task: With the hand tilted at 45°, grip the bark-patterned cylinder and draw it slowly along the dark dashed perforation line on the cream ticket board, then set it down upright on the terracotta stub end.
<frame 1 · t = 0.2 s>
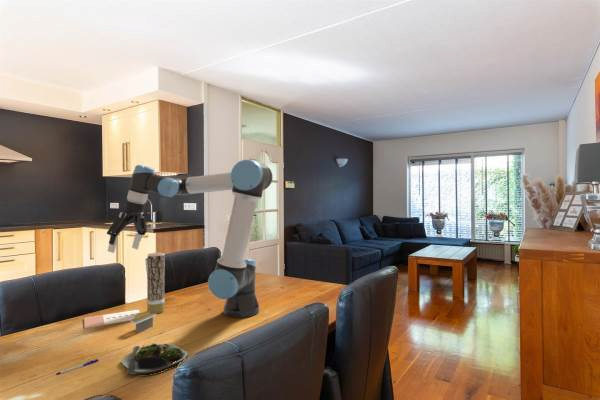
hand: (123, 250, 143), 27 cm above the table, tool tilted 15°, fingers open, 13 cm apart
salad plate: (154, 363, 101), on the table
platform: (142, 331, 126), on the table
ticket board: (113, 318, 137), on the table
ballpoint pen: (78, 369, 97), on the table
bark-patterned cylinder: (155, 312, 146), on the table
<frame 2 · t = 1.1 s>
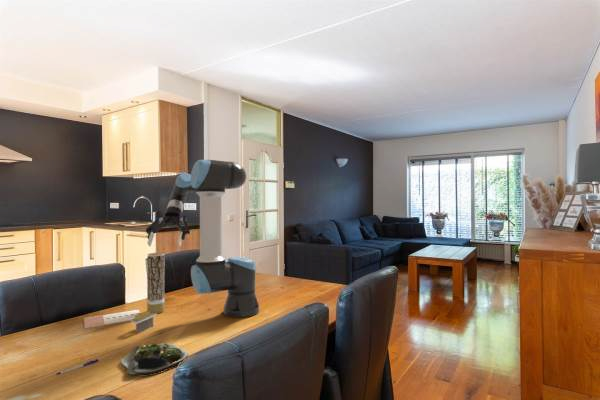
hand: (164, 244, 156), 28 cm above the table, tool tilted 45°, fingers open, 13 cm apart
nothing on the table moved.
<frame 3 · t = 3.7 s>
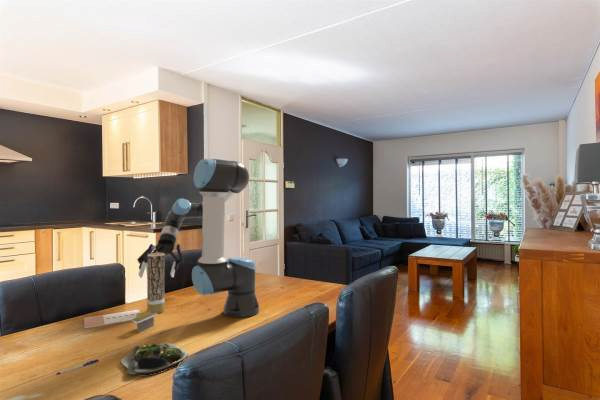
hand: (155, 275, 147), 15 cm above the table, tool tilted 45°, fingers open, 13 cm apart
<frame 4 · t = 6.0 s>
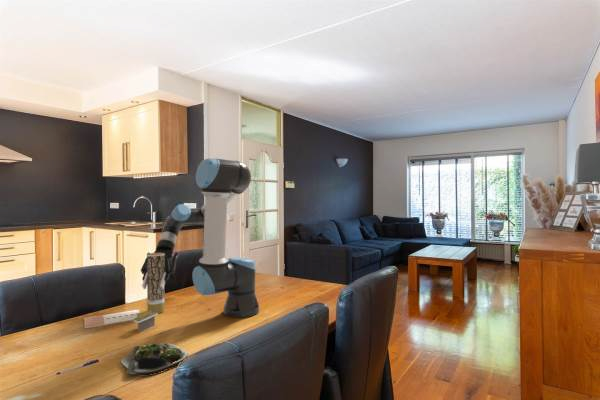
hand: (152, 287, 142), 11 cm above the table, tool tilted 45°, fingers closed on bark-patterned cylinder, 7 cm apart
bark-patterned cylinder: (155, 312, 146), on the table, touching gripper
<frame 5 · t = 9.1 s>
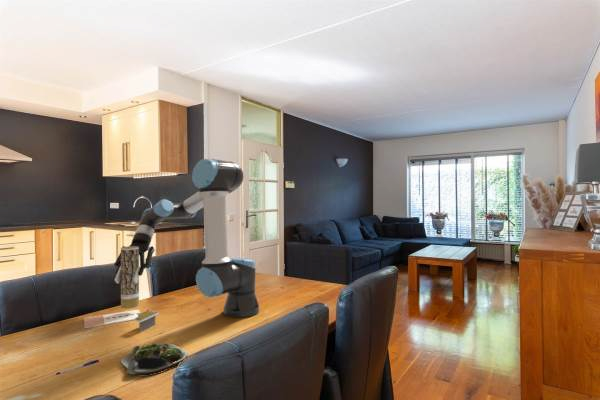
hand: (125, 281, 139), 15 cm above the table, tool tilted 45°, fingers closed on bark-patterned cylinder, 7 cm apart
bark-patterned cylinder: (130, 307, 143), point 3 cm above the table, touching gripper
when the fingers open (13 cm above the table, at t = 12.3 s): bark-patterned cylinder stays where it is, resting on ticket board.
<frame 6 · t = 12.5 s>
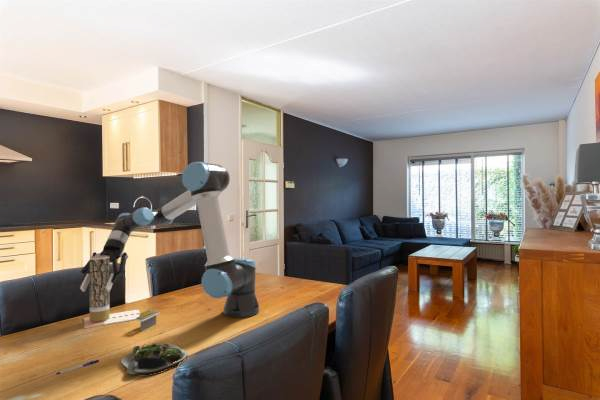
hand: (94, 289, 131), 13 cm above the table, tool tilted 45°, fingers open, 9 cm apart
bark-patterned cylinder: (99, 320, 134), resting on ticket board
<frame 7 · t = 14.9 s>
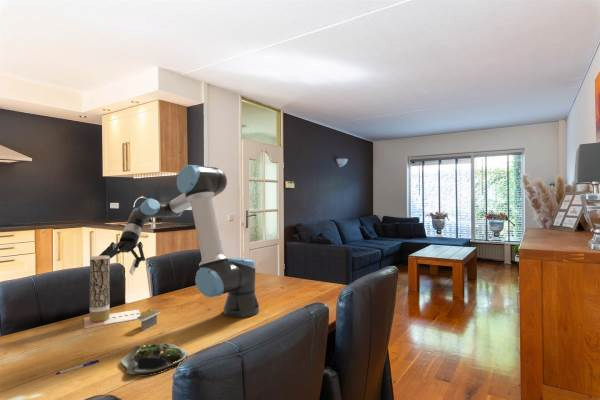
hand: (115, 273, 145), 16 cm above the table, tool tilted 45°, fingers open, 13 cm apart
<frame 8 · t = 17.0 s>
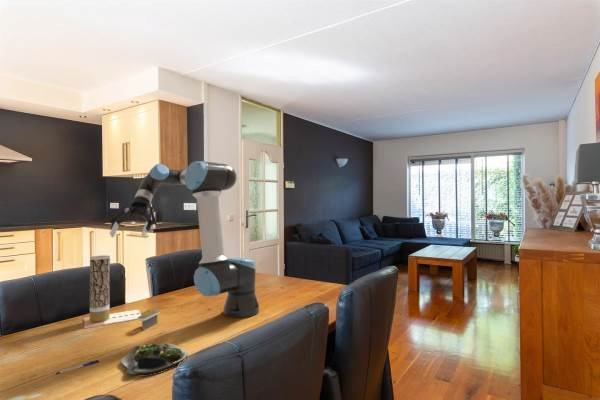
hand: (127, 235, 148), 33 cm above the table, tool tilted 45°, fingers open, 13 cm apart
at the end: bark-patterned cylinder inside the target area (0.1 cm from its centre), resting on ticket board; bark-patterned cylinder tilted 0°; the gripper is holding nothing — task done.
